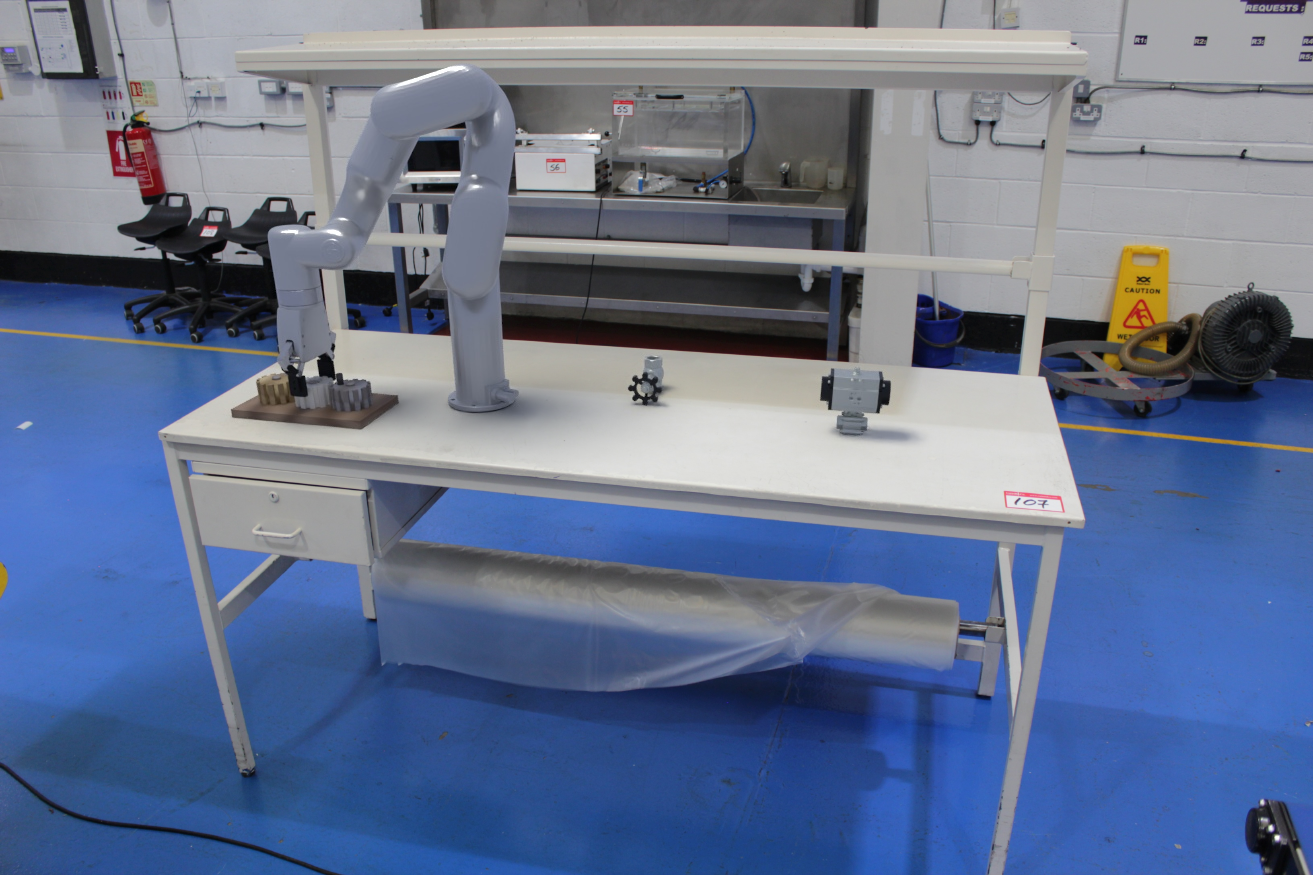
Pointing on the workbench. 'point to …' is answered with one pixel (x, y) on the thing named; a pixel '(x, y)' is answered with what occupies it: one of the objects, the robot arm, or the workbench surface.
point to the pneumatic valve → (854, 396)
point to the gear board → (347, 409)
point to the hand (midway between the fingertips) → (314, 387)
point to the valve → (649, 380)
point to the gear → (316, 393)
